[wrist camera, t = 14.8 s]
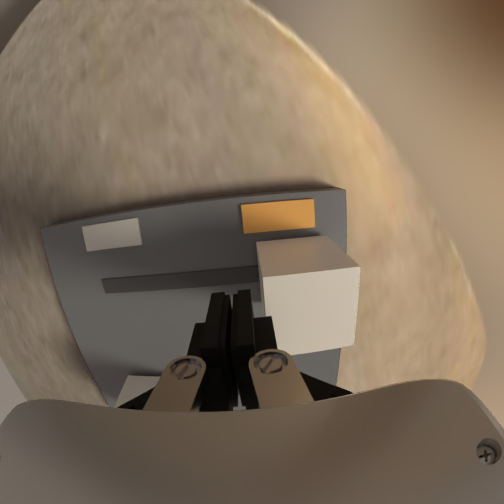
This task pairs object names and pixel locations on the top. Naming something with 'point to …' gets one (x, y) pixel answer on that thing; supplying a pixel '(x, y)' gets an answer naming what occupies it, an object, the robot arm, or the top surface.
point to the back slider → (135, 387)
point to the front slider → (309, 293)
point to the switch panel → (176, 274)
